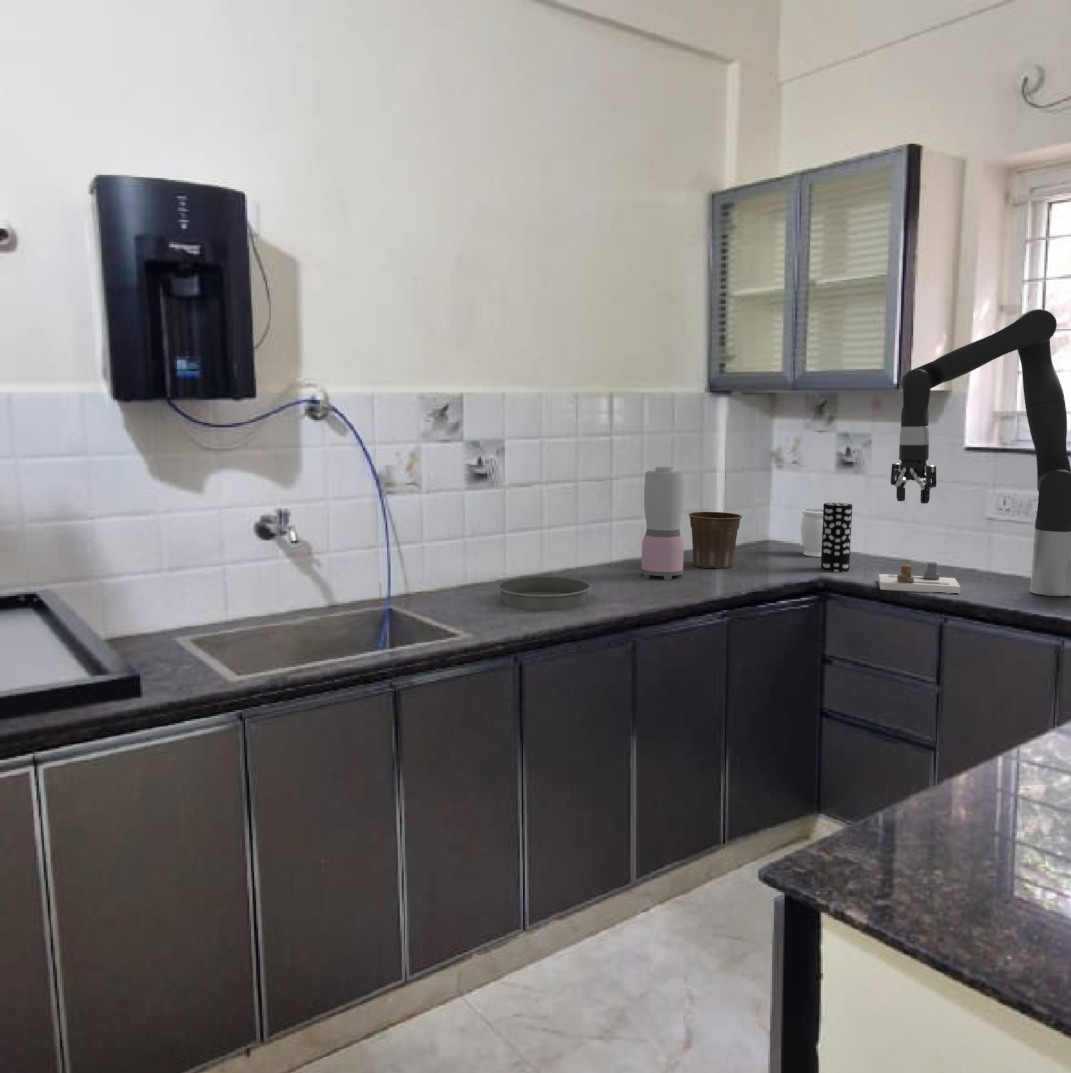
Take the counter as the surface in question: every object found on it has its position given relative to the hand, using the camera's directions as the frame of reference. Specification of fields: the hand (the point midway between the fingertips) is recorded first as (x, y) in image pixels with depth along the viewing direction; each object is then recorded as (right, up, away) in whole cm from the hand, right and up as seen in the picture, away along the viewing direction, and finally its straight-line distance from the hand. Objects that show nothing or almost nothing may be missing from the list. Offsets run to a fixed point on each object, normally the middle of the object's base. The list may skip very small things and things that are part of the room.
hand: (912, 502), depth 262 cm
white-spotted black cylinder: (-13, -20, +28) cm, 37 cm away
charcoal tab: (+6, -21, +3) cm, 22 cm away
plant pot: (-48, -19, +34) cm, 62 cm away
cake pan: (-102, -27, -18) cm, 107 cm away
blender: (-66, -21, +18) cm, 72 cm away
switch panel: (+2, -24, +1) cm, 24 cm away
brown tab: (-3, -21, -2) cm, 22 cm away
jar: (-10, -16, +54) cm, 58 cm away
